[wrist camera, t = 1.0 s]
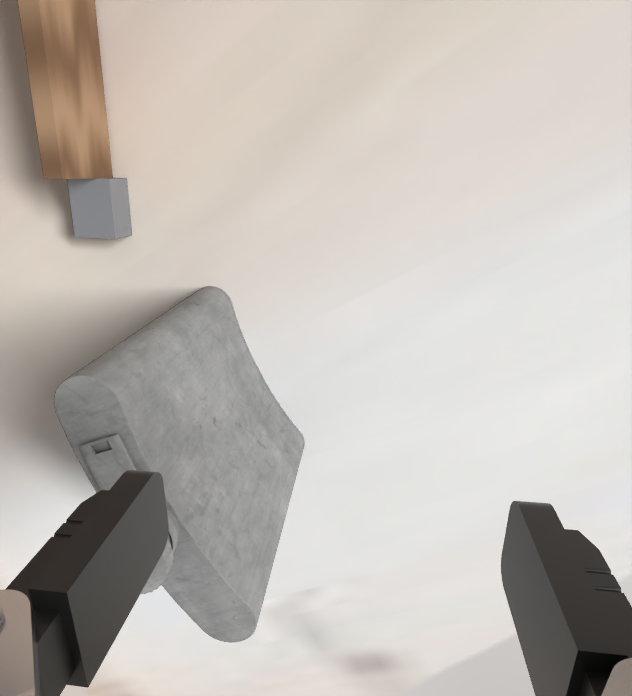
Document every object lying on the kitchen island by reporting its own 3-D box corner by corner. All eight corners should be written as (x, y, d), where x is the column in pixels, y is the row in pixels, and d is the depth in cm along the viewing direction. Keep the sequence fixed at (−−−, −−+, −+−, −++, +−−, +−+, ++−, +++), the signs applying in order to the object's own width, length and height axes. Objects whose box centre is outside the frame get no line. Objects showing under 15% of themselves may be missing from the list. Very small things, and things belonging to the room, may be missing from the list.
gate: (69, -62, 31) (0, -114, 25) (88, -62, 30) (23, -115, 25) (96, 177, 35) (43, 178, 30) (112, 178, 35) (62, 179, 30)
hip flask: (310, 451, 41) (256, 682, 23) (268, 466, 42) (182, 700, 24) (220, 279, 37) (61, 389, 18) (175, 300, 38) (-18, 425, 19)
